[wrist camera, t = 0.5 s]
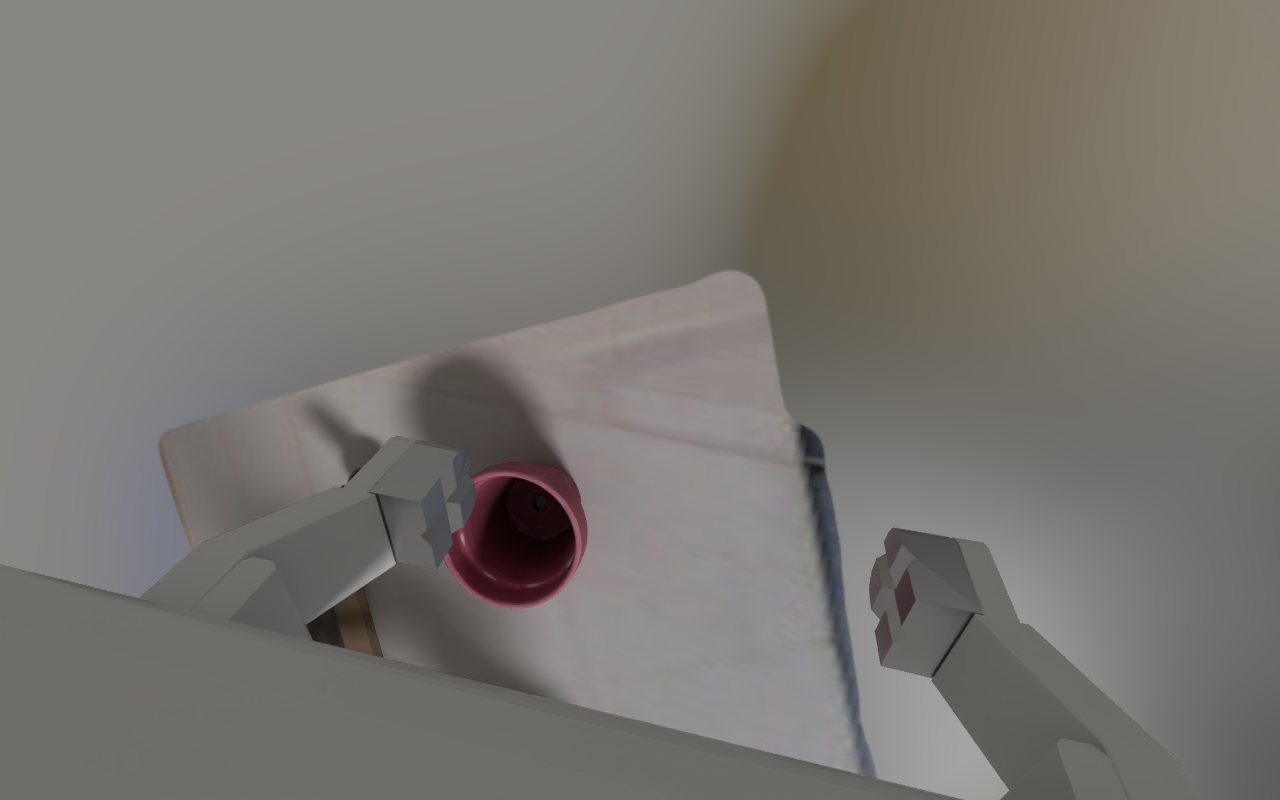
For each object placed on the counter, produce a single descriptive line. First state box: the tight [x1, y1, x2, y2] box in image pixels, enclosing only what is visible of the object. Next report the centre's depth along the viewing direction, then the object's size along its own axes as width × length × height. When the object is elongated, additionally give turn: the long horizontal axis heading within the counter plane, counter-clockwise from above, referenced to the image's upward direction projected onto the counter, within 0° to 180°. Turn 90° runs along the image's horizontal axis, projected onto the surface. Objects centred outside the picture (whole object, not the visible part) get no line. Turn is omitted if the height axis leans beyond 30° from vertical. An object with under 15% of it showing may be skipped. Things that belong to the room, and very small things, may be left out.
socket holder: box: [306, 587, 383, 658], centre depth 69 cm, size 18×18×6 cm
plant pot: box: [444, 462, 587, 609], centre depth 60 cm, size 14×14×13 cm
